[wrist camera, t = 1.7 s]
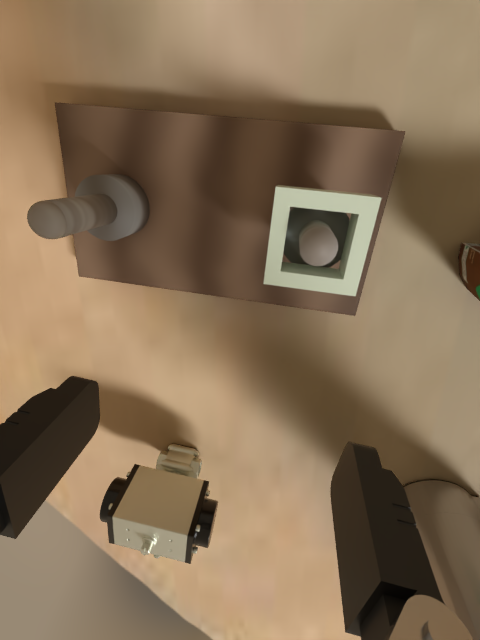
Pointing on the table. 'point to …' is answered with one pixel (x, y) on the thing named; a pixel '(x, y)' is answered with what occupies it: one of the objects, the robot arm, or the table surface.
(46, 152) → the table surface
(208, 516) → the pneumatic valve
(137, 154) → the board
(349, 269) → the ring
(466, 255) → the food container
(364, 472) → the robot arm
